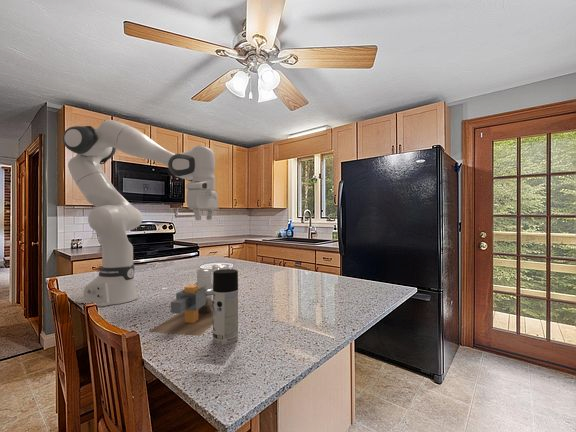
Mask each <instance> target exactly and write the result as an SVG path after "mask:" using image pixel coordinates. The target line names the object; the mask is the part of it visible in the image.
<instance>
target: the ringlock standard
mask: <svg viewBox="0 0 576 432" xmlns="http://www.w3.org/2000/svg"><path fill="white" fill-rule="evenodd" d="M211 276H212V268H198V269H197V270H196V285H198V291H197V292H196V293H185V290H184V289H182V290H180V291H178V292H176V293H175V297H176V299H174V300H173V301H170V313H171V314H178V313H182V312H183V311H185V310H194V311H196V310H198V313H199V314H207V313H210V312H211V311H212V305H213V285H212V277H211Z"/></svg>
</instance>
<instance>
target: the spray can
mask: <svg viewBox="0 0 576 432" xmlns="http://www.w3.org/2000/svg"><path fill="white" fill-rule="evenodd" d="M212 305H213V325H212V342H213V343H214V344H215V345H221V346H222V345H223V346H224V345H231V344H234V343H235V342H237V341H238V339H239V271H238V270H237V269H233V268H229V269H220V270H216V271H214V272H213V295H212Z"/></svg>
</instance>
